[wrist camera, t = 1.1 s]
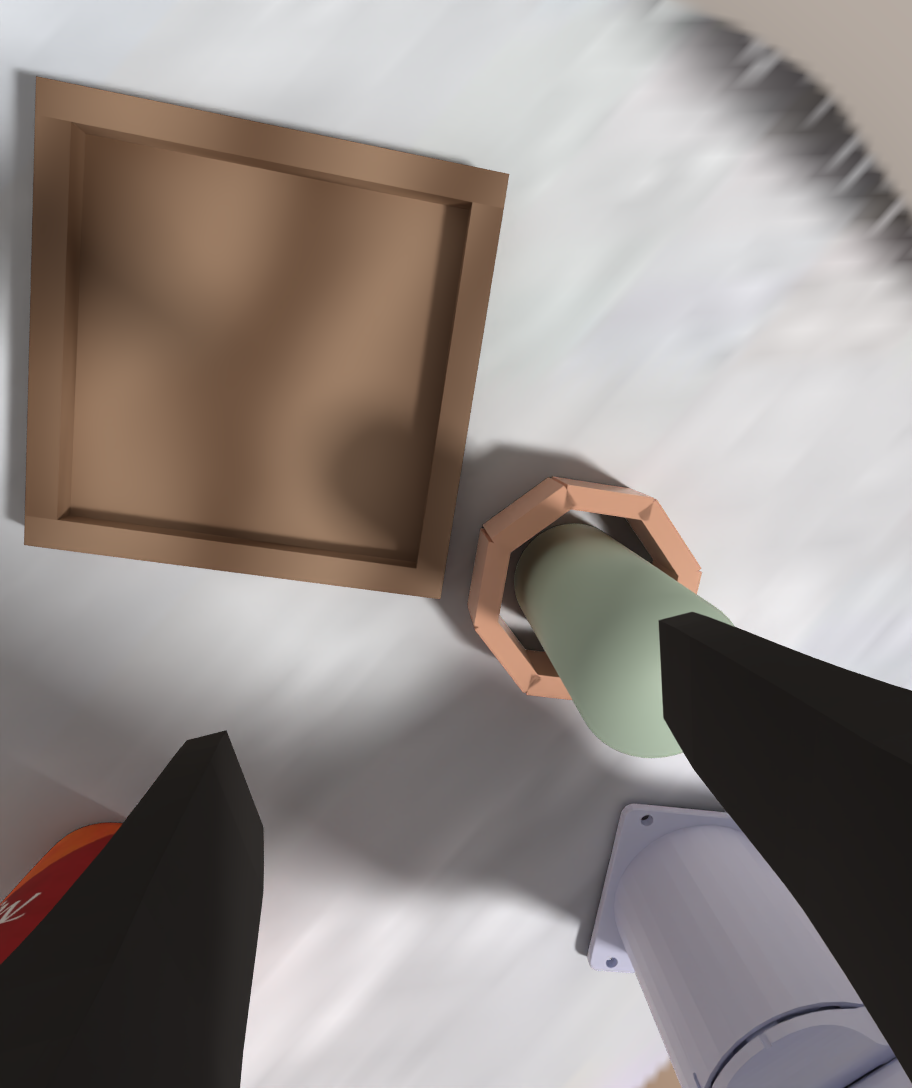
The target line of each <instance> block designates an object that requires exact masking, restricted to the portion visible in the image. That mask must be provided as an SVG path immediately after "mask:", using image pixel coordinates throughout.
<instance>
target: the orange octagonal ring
mask: <svg viewBox="0 0 912 1088" xmlns="http://www.w3.org/2000/svg"><path fill="white" fill-rule="evenodd" d="M571 509H572V510H579V511H585V512H592V513H599V514H606V515H612V516H619V517H625V518H626V520H627V521H628V523H629V524H630V526H631V527H632V529H633V530H634V532H635V533H636V535H637V536H638V538H639V539H640V541H641V542H642V544H643V545H644V547H645V548H646V550H647V551H648V553H649V554H650V556H651V557H652V559H653V562H652V565H654V566H655V567H657V568H658V569H660V570H661V571H662V572H664V573H665V574H667V575H668V576H670V577H671V578H673V579H674V580H676V581H677V582H679V583H680V584H682V585H683V586H685V587H686V588H688V589H689V590H691V591H692V592H694V593H695V594H697V591H698V587H699V583H700V578H701V574H702V572H701V571H699V570H700V569H701V567H700V565H699V564H698V562H697V561H696V559H695V558H694V556H693V555H692V553H691V552H690V550H689V548H688V547H687V545H686V544H685V542H684V541H683V539H682V538H681V536H680V535H679V533H678V531H677V530H676V528H675V527H674V525H673V524H672V522H671V521H670V519H669V518H668V516H667V514H666V513H665V511H664V510H663V508H662V507H661V505H660V504H659V502H658V501H657V500H656V499H654V498H653V497H650V496H648V495H645V494H643V493H641V492H638V491H636V490H633V489H631V488H625V487H619V486H612V485H606V484H599V483H593V482H586V481H580V480H574V479H567V478H561V477H554V476H552V479H551V478H549V477H548V478H546V479H545V480H544V481H542V482H541V483H540V484H538V485H537V486H535V487H534V488H533V489H531V490H530V491H529V492H527V493H526V494H524V495H523V496H522V497H520V498H519V499H517V500H516V501H515V502H513V503H512V504H511V505H509V506H508V507H506V508H505V509H504V510H502V511H501V512H500V513H498V514H497V515H495V516H494V517H493V518H491V519H490V520H488V521H487V522H486V523H484V524H483V527H484V528H485V529H483V528H480V533H479V539H478V545H477V551H476V556H475V562H474V568H473V574H472V580H471V586H470V591H469V597H468V603H467V605H468V609H469V613H470V616H471V619H472V622H473V625H474V628H475V631H476V632H477V633H478V634H479V636H480V637H481V638H482V640H483V641H484V642H485V644H486V645H487V646H488V647H489V649H490V650H491V651H492V653H493V654H494V655H495V657H496V658H497V659H498V660H499V662H500V663H501V664H502V666H503V667H504V668H505V670H506V671H507V672H508V673H509V675H510V676H511V677H512V679H513V680H514V681H515V683H516V684H517V685H518V687H519V688H520V689H521V690H522V692H523V693H525V692H526V694H527V695H532V696H541V697H549V698H558V699H567V700H572V698H571V696H570V695H569V693H568V691H567V689H566V688H565V686H564V684H563V682H562V680H561V679H560V677H559V675H558V673H557V672H556V670H555V668H554V666H553V664H552V663H551V661H550V659H549V657H548V655H547V654H546V652H542V651H534V650H525V648H524V647H523V646H522V644H521V643H520V642H519V640H518V639H517V638H516V636H515V635H514V634H513V632H512V631H511V630H510V628H509V627H508V626H507V624H506V623H505V622H504V620H503V619H502V618H501V616H500V615H499V614H500V608H501V603H502V597H503V592H504V586H505V581H506V575H507V570H508V564H509V559H510V553H511V552H512V551H514V550H515V549H516V548H518V547H519V546H521V545H522V544H523V543H525V542H526V541H528V540H529V539H530V538H532V537H533V536H535V535H536V534H537V533H539V532H540V531H541V530H543V529H544V528H546V527H547V526H548V525H550V524H551V523H553V522H554V521H555V520H557V519H558V518H560V517H561V516H562V515H564V514H565V513H567V512H568V511H569V510H571Z"/></svg>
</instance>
